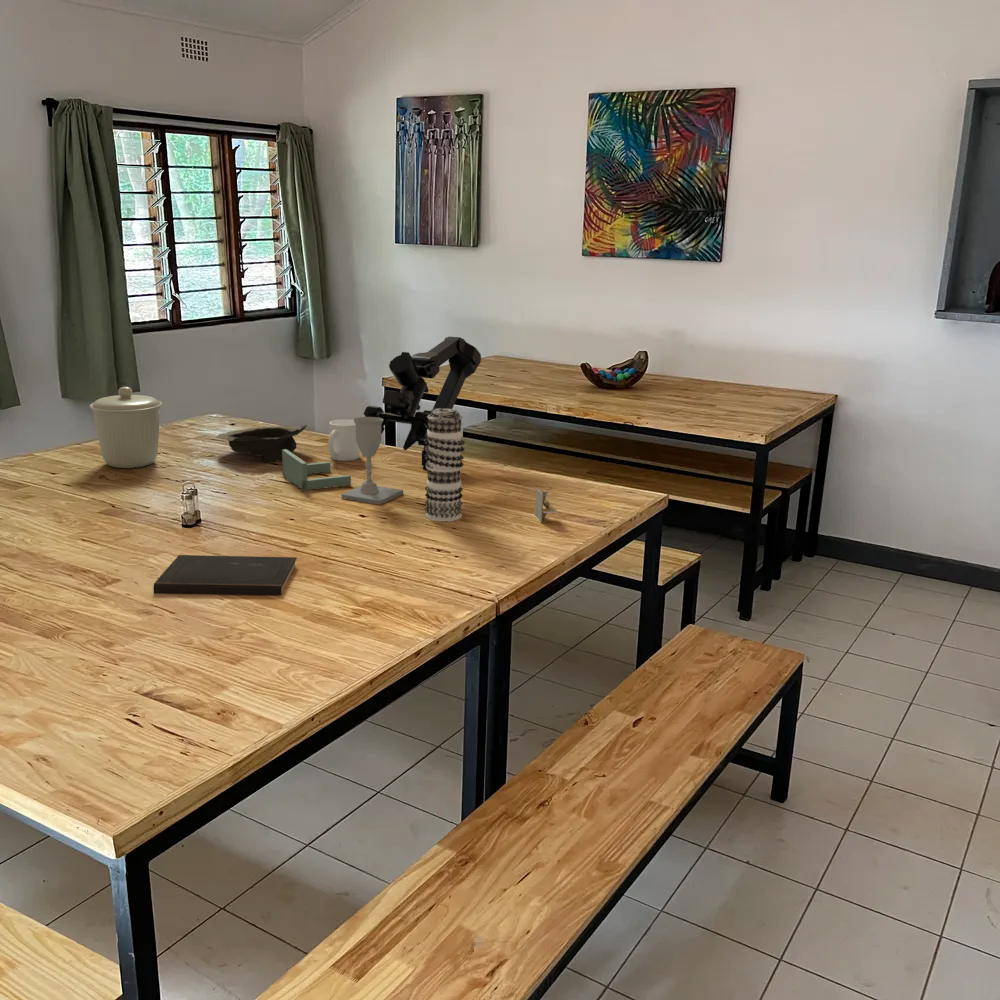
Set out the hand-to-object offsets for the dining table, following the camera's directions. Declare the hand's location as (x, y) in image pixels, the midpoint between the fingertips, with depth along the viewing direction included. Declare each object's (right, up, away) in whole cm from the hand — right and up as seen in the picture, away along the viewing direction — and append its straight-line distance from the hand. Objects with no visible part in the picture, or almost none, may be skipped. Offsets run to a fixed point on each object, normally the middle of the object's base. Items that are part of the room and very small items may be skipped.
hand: (388, 447), depth 244 cm
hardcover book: (-23, -29, -60) cm, 70 cm away
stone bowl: (-40, -1, +33) cm, 52 cm away
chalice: (-4, -11, -3) cm, 13 cm away
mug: (-17, -2, +31) cm, 35 cm away
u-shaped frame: (-19, -8, +9) cm, 23 cm away
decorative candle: (+15, -17, -18) cm, 29 cm away
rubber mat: (-3, -12, -4) cm, 13 cm away
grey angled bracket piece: (+38, -18, -18) cm, 46 cm away
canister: (-72, -4, +20) cm, 75 cm away
